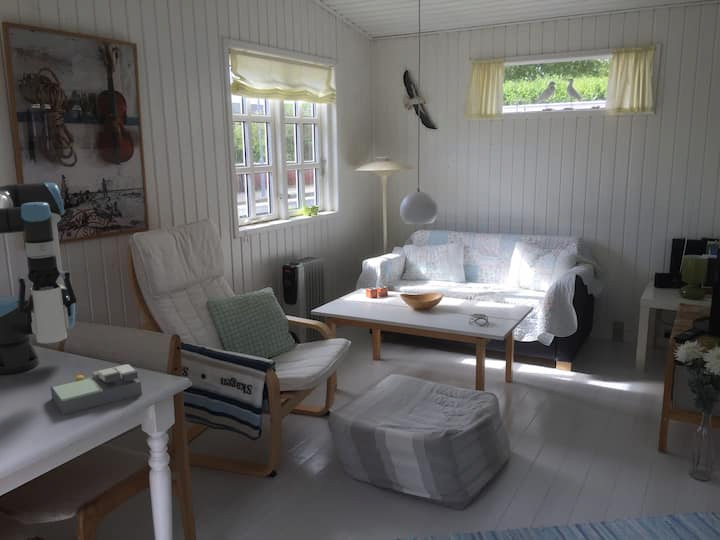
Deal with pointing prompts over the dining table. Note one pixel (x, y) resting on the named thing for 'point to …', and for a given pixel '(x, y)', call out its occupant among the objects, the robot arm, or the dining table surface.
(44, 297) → the cup
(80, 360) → the dining table surface
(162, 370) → the dining table surface
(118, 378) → the light grey rectangular block
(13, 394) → the dining table surface
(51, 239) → the robot arm
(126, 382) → the panel
